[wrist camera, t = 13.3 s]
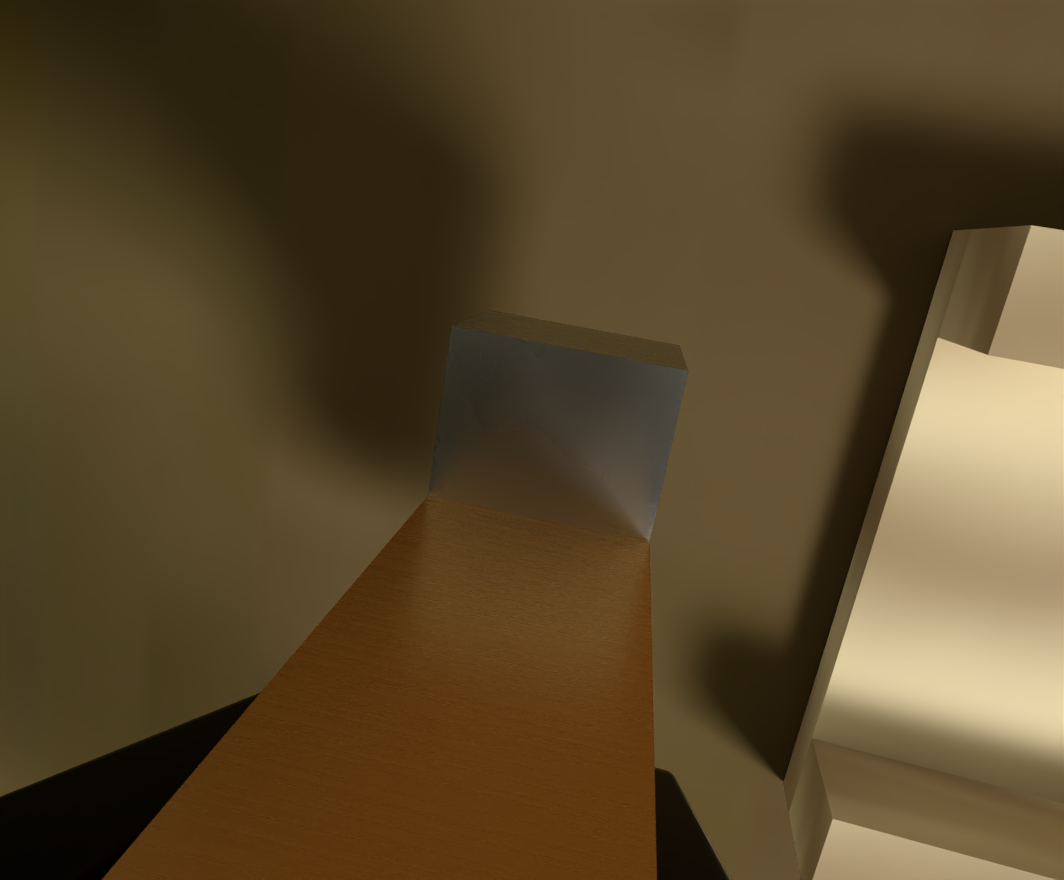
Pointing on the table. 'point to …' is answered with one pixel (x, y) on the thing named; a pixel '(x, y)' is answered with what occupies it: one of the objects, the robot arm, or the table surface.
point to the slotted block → (953, 601)
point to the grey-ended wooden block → (470, 650)
